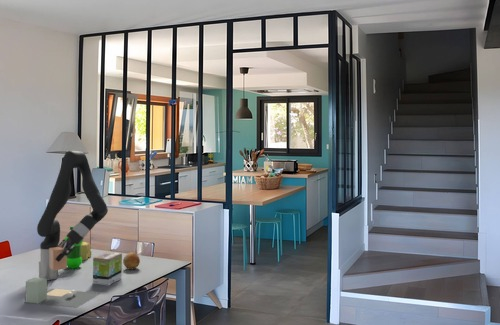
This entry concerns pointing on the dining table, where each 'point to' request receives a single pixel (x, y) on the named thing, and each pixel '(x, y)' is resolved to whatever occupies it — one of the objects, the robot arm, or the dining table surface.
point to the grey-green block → (36, 290)
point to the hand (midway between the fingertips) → (54, 259)
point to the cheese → (85, 250)
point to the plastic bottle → (74, 255)
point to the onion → (131, 260)
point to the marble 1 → (69, 295)
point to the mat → (60, 299)
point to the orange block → (53, 262)
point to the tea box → (107, 268)
